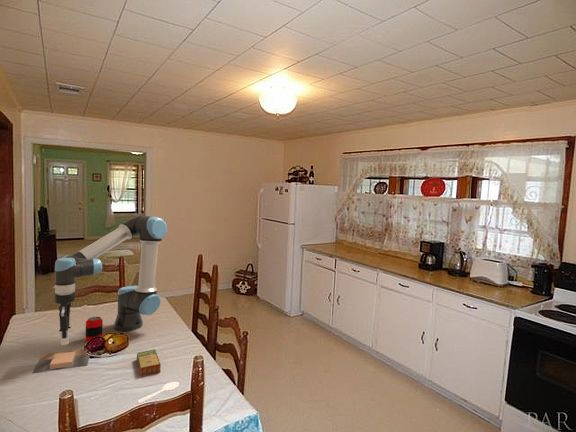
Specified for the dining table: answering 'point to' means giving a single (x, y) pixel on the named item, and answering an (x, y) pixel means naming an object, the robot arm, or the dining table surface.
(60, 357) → the tile
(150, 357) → the carton
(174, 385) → the spoon
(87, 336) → the soda can
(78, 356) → the board
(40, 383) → the dining table surface
